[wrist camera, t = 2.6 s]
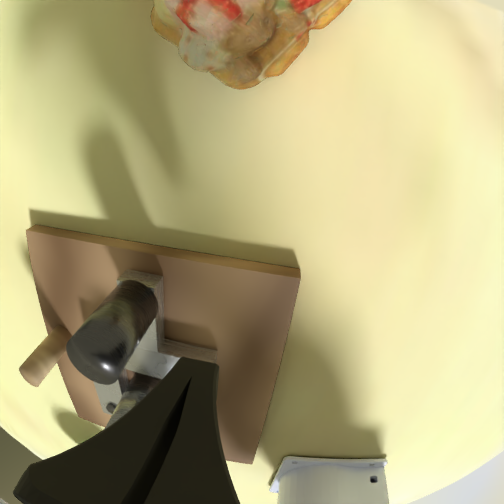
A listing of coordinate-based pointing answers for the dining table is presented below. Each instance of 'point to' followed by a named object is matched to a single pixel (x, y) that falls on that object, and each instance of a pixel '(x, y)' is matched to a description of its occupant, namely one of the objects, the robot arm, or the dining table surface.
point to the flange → (128, 338)
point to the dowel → (45, 356)
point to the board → (176, 317)
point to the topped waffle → (242, 34)
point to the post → (133, 395)
